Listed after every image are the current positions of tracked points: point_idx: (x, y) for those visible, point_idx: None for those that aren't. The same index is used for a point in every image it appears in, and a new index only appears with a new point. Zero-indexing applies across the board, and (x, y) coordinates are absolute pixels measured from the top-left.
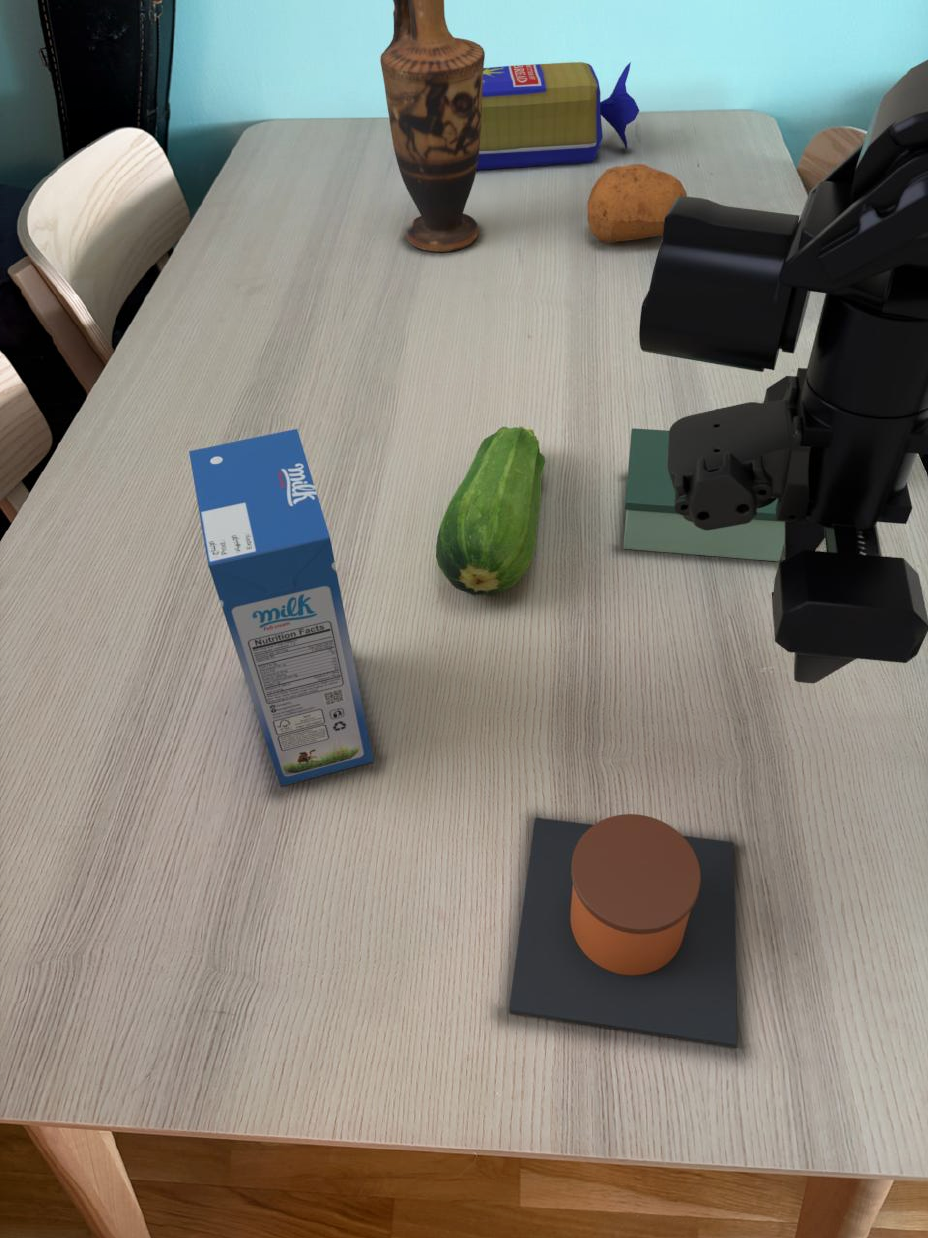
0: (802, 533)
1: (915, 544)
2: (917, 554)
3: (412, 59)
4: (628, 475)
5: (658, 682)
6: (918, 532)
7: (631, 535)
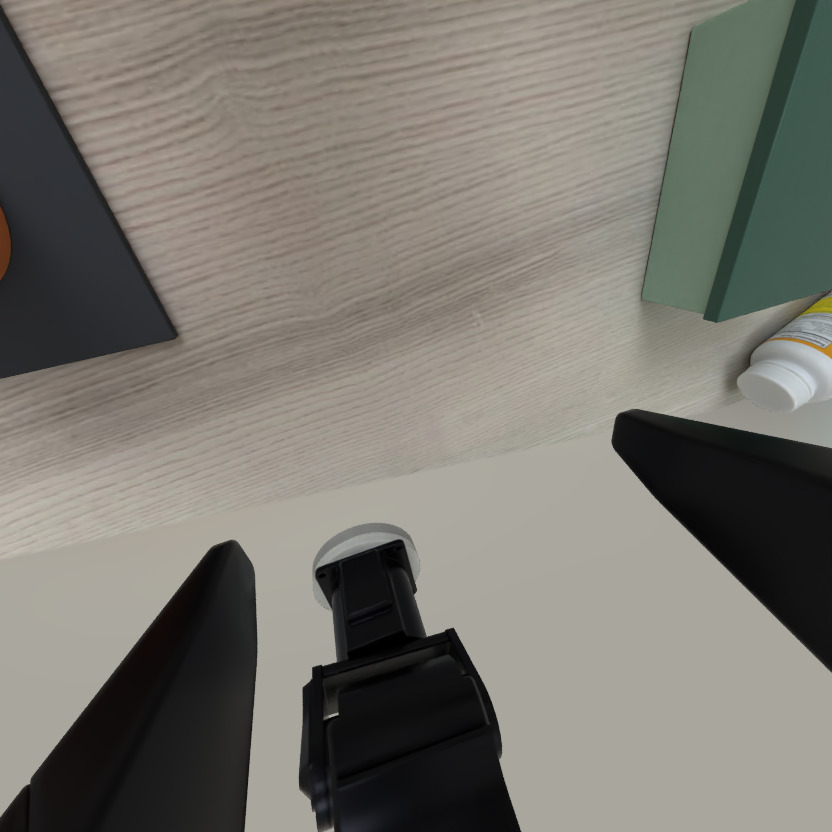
0: (712, 489)
1: None
2: None
3: None
4: None
5: (421, 161)
6: None
7: (722, 28)
